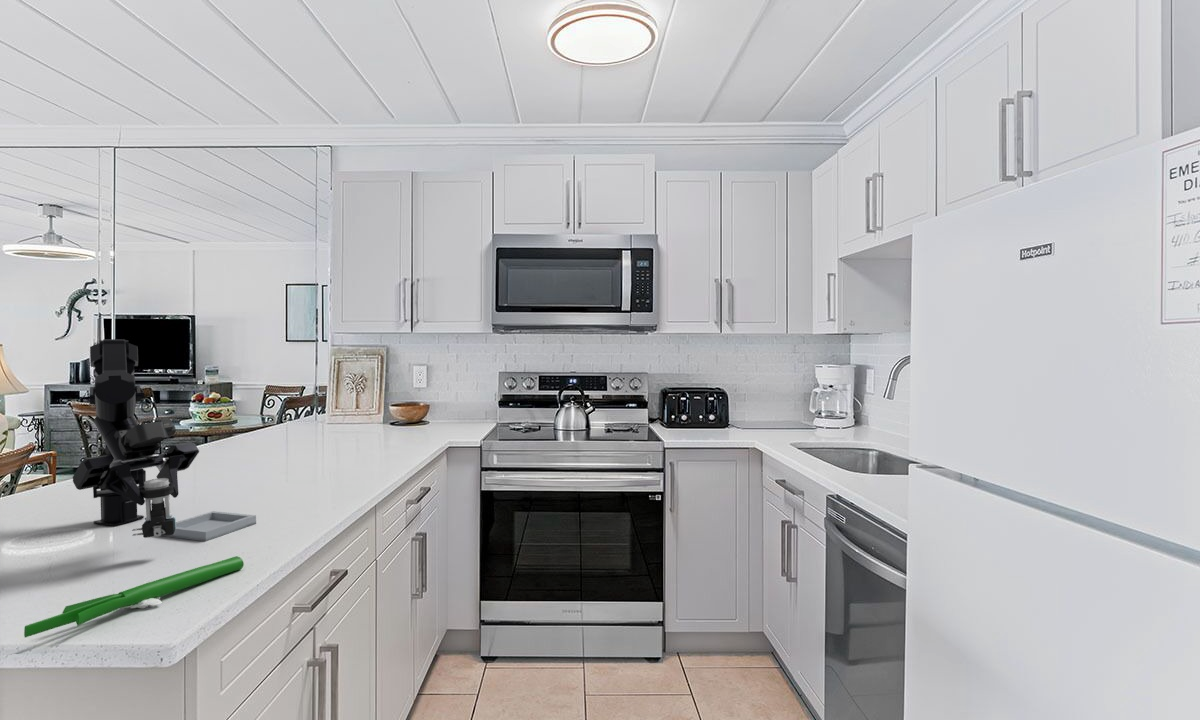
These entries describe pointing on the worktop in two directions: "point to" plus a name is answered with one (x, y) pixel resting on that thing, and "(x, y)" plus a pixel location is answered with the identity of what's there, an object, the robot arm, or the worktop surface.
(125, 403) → the robot arm
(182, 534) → the tray
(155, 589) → the green onion
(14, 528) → the worktop surface
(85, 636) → the worktop surface
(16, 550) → the worktop surface
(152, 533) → the push button
